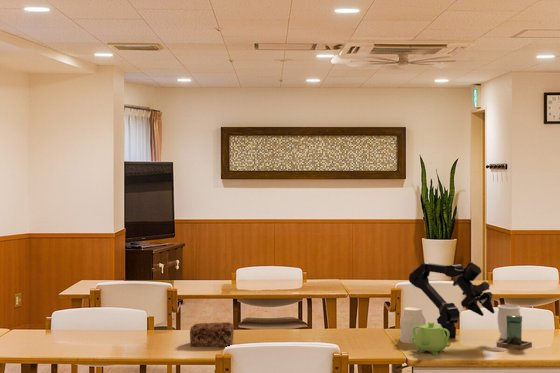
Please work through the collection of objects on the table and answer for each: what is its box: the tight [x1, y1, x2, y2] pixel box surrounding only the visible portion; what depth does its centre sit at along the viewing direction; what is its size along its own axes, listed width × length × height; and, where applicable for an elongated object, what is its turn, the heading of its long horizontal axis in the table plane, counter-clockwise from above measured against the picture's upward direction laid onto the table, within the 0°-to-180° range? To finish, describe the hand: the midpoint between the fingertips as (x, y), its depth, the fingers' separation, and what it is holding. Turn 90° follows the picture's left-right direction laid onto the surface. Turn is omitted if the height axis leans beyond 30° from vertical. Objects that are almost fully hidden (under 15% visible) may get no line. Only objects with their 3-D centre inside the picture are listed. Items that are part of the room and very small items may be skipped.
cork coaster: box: [484, 346, 507, 353], centre depth 351 cm, size 9×9×1 cm
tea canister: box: [505, 315, 523, 345], centre depth 358 cm, size 7×7×12 cm
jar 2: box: [496, 304, 521, 340], centre depth 378 cm, size 11×10×15 cm
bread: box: [189, 321, 235, 348], centre depth 363 cm, size 19×11×10 cm, turn 86°
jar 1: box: [399, 306, 427, 345], centre depth 370 cm, size 12×10×15 cm
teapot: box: [412, 321, 451, 355], centre depth 349 cm, size 16×14×13 cm
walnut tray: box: [496, 339, 533, 351], centre depth 358 cm, size 11×11×2 cm
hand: (488, 314), depth 364 cm, fingers open, 9 cm apart
